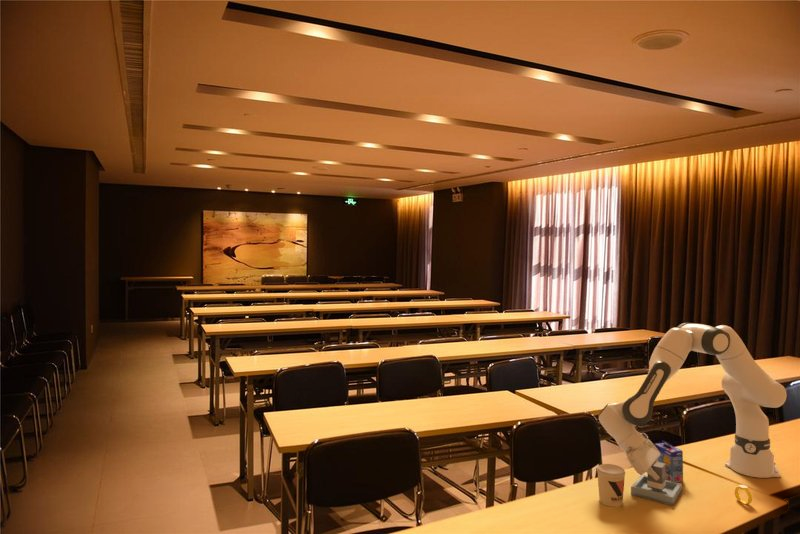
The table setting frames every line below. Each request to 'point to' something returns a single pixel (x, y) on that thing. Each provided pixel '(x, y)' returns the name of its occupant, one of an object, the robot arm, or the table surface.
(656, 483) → the block
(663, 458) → the ink cartridge box
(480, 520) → the table surface
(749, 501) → the watch
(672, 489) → the slate tray
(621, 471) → the coffee cup
